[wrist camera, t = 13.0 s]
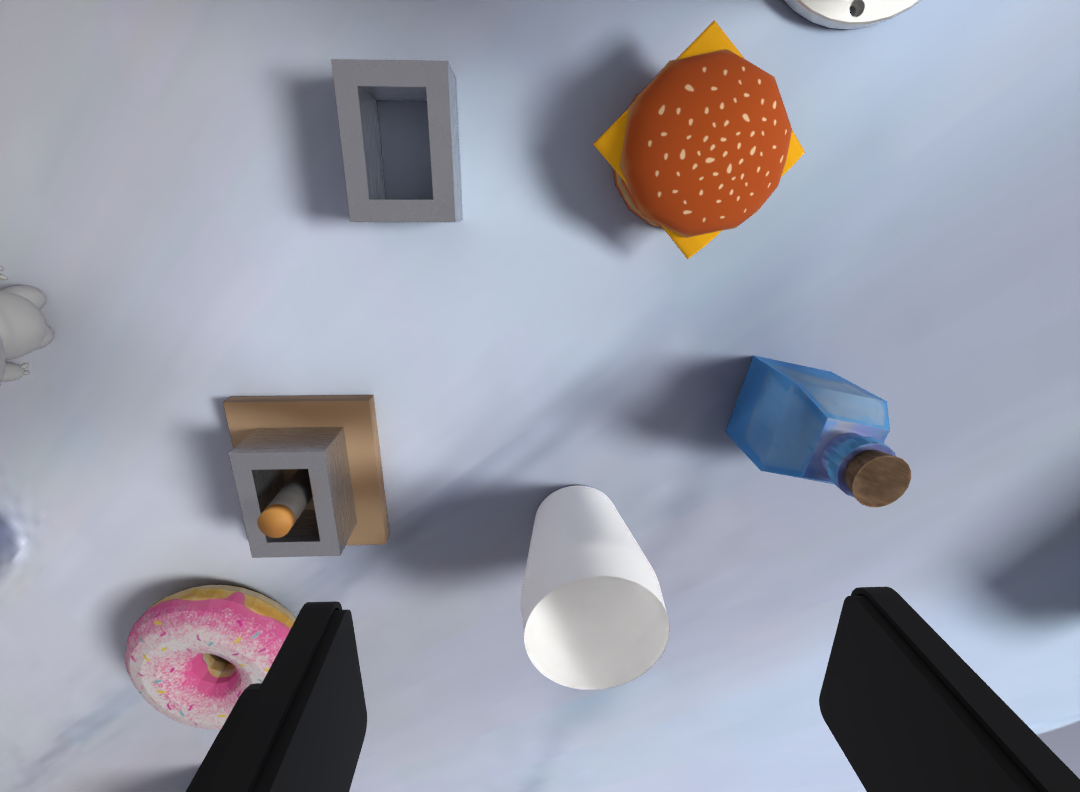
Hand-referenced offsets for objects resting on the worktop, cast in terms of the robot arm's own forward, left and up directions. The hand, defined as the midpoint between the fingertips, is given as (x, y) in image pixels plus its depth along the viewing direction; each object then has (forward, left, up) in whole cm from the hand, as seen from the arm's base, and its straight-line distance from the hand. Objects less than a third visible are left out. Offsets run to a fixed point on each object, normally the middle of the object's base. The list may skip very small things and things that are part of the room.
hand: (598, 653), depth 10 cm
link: (+11, -17, -27) cm, 34 cm away
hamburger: (-11, +9, -29) cm, 32 cm away
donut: (+27, -26, -29) cm, 47 cm away
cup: (+16, +3, -28) cm, 33 cm away
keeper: (+11, -17, -28) cm, 35 cm away
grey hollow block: (-11, -8, -28) cm, 31 cm away
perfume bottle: (+6, +18, -29) cm, 34 cm away
